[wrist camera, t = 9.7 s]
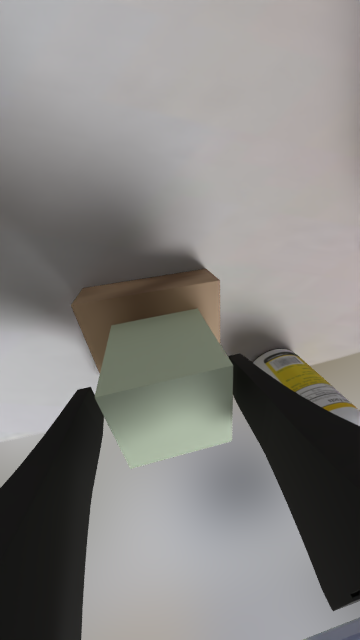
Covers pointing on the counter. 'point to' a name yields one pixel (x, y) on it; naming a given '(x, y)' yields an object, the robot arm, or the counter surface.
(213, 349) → the sage cube
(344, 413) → the supplement bottle
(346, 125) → the counter surface
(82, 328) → the walnut block
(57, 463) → the robot arm
